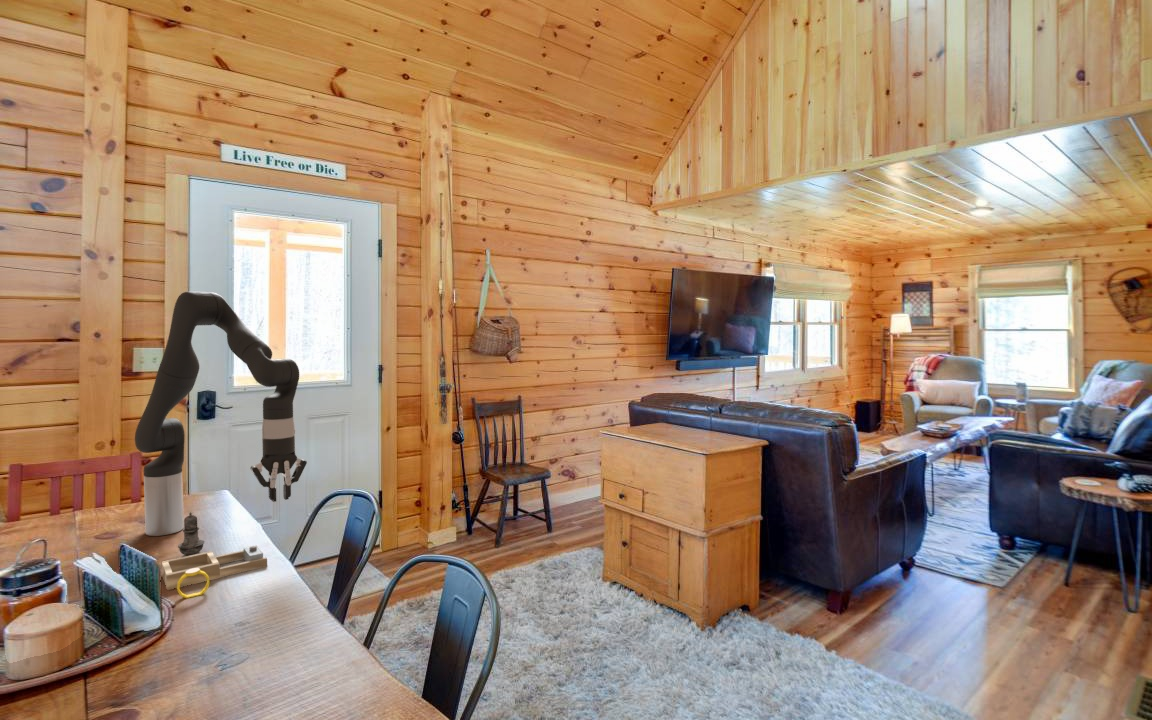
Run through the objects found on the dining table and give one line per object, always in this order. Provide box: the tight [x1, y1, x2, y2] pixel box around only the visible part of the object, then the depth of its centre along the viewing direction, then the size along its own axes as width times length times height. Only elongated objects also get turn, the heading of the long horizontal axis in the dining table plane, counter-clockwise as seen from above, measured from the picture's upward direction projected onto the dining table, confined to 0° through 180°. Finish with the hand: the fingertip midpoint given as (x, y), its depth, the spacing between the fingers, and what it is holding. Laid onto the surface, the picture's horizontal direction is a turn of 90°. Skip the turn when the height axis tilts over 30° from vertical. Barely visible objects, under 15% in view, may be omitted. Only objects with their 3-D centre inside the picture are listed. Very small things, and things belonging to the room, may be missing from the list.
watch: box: [176, 568, 210, 599], centre depth 129 cm, size 6×3×6 cm, turn 128°
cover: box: [243, 544, 264, 562], centre depth 148 cm, size 7×3×4 cm, turn 41°
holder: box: [161, 549, 268, 591], centre depth 142 cm, size 10×21×4 cm, turn 131°
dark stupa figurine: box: [177, 511, 206, 558], centre depth 150 cm, size 6×6×12 cm
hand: (279, 499), depth 151 cm, fingers open, 2 cm apart
